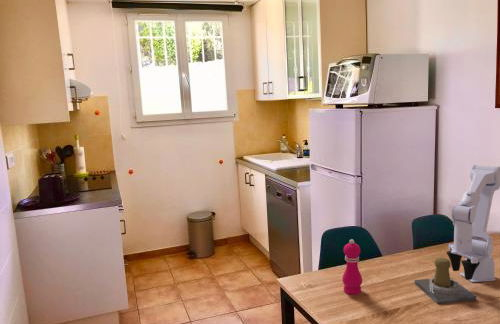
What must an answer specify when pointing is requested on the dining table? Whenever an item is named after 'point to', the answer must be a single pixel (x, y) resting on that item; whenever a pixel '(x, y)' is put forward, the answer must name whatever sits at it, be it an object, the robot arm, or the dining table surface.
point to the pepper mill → (352, 269)
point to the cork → (442, 272)
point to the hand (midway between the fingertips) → (462, 274)
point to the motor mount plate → (445, 297)
